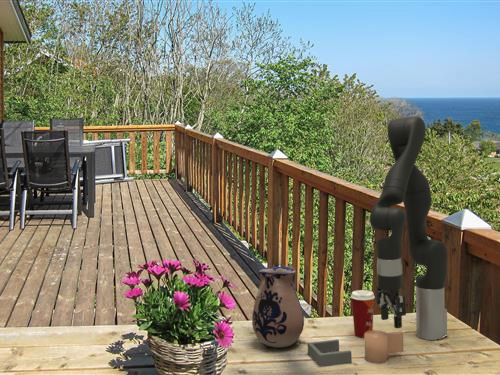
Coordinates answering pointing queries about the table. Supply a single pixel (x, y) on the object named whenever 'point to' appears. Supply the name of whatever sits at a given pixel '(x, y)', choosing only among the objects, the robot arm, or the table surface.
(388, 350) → the peach mallet
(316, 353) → the charcoal holder
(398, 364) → the table surface
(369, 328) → the coffee cup
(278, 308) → the ceramic pitcher
